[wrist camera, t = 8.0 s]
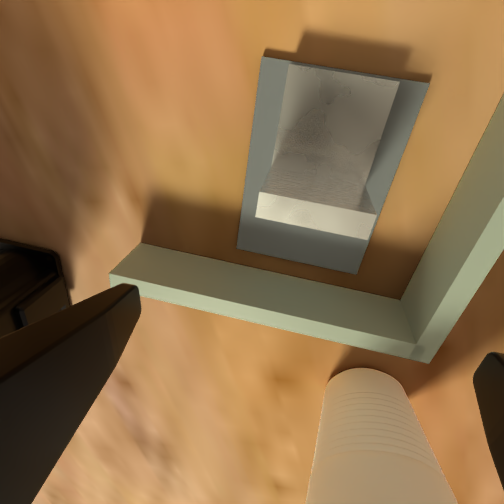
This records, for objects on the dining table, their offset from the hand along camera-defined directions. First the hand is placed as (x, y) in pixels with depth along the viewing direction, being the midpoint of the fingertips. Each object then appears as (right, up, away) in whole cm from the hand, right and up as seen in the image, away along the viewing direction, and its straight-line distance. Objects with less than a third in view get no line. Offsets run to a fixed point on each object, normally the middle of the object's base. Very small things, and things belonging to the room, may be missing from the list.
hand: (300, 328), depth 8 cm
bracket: (+3, +8, +8) cm, 12 cm away
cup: (+8, -9, +18) cm, 22 cm away
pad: (+2, +6, +10) cm, 12 cm away
